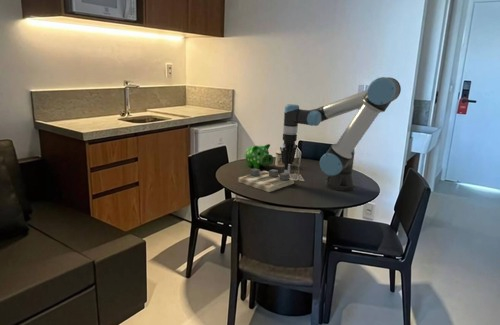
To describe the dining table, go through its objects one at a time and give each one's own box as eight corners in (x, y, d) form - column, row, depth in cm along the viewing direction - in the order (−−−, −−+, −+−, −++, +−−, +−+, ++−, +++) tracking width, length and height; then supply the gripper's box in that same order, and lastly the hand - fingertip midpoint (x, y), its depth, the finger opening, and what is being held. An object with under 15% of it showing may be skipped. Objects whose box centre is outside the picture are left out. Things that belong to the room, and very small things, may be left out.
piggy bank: (258, 172, 225) (259, 148, 221) (240, 165, 238) (240, 142, 235) (275, 168, 234) (276, 145, 230) (256, 162, 247) (257, 140, 243)
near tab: (288, 179, 203) (289, 173, 202) (284, 180, 200) (284, 175, 200) (283, 177, 206) (284, 172, 205) (279, 179, 203) (279, 173, 202)
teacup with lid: (277, 167, 236) (278, 150, 233) (273, 164, 245) (274, 146, 242) (295, 167, 239) (296, 149, 236) (290, 163, 248) (291, 146, 245)
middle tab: (278, 175, 209) (278, 170, 208) (273, 177, 206) (273, 171, 205) (273, 174, 211) (273, 169, 210) (268, 175, 208) (269, 170, 207)
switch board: (294, 183, 206) (294, 178, 205) (268, 192, 190) (269, 186, 189) (264, 174, 220) (264, 170, 219) (238, 182, 204) (238, 177, 203)
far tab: (259, 175, 209) (259, 169, 208) (254, 176, 206) (255, 170, 205) (255, 173, 211) (255, 168, 211) (250, 174, 209) (250, 169, 208)
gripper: (291, 131, 206) (288, 171, 212) (276, 133, 196) (274, 175, 203) (302, 133, 201) (299, 174, 207) (288, 135, 191) (284, 179, 198)
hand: (286, 175), depth 205 cm, fingers closed
